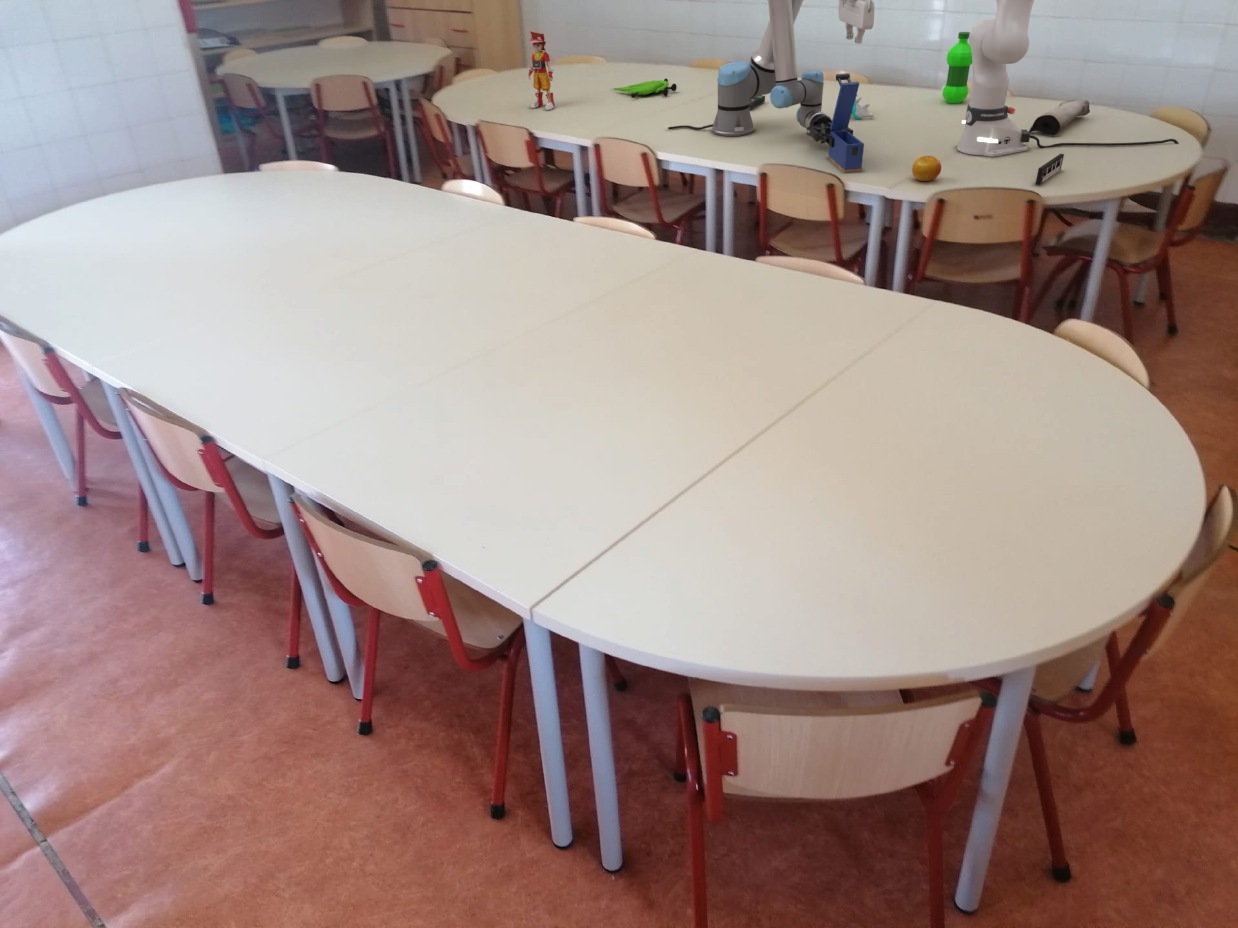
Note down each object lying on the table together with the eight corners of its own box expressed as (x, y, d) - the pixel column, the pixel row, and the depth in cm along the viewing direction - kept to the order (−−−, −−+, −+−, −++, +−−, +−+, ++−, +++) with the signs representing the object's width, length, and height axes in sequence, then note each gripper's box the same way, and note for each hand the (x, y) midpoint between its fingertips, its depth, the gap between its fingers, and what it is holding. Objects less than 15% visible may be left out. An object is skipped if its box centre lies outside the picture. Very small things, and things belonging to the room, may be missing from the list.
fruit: (905, 171, 275) (922, 148, 272) (907, 173, 283) (923, 151, 280) (928, 186, 274) (945, 163, 271) (929, 188, 282) (946, 166, 279)
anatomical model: (836, 88, 347) (861, 81, 346) (838, 115, 353) (863, 108, 352) (847, 98, 335) (873, 90, 334) (849, 125, 341) (875, 118, 340)
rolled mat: (1057, 104, 331) (1081, 87, 323) (1070, 125, 332) (1095, 108, 324) (1024, 126, 314) (1049, 109, 306) (1039, 148, 314) (1064, 131, 306)
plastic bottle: (973, 101, 354) (984, 32, 339) (955, 106, 349) (966, 36, 335) (952, 97, 361) (962, 29, 346) (934, 102, 356) (944, 33, 342)
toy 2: (686, 85, 398) (631, 84, 414) (685, 72, 395) (629, 72, 411) (651, 104, 381) (596, 103, 397) (650, 92, 378) (594, 91, 394)
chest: (861, 171, 290) (864, 143, 285) (844, 172, 289) (846, 145, 284) (844, 156, 303) (846, 130, 298) (828, 158, 303) (830, 131, 298)
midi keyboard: (1039, 185, 269) (1043, 168, 266) (1035, 184, 270) (1038, 168, 267) (1060, 170, 279) (1064, 154, 277) (1056, 169, 280) (1060, 153, 277)
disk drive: (750, 111, 360) (765, 102, 370) (750, 104, 358) (765, 95, 368) (726, 109, 364) (742, 100, 375) (726, 102, 363) (742, 93, 373)
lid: (859, 84, 283) (852, 67, 287) (842, 85, 283) (835, 68, 287) (847, 129, 298) (840, 112, 302) (830, 131, 297) (824, 114, 302)
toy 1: (525, 109, 381) (517, 32, 364) (534, 104, 388) (527, 28, 371) (550, 110, 377) (543, 32, 360) (559, 105, 384) (553, 28, 367)
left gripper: (843, 133, 318) (868, 150, 299) (792, 138, 316) (814, 156, 297) (845, 111, 314) (871, 127, 295) (794, 115, 312) (816, 133, 293)
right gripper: (882, -5, 261) (876, 46, 269) (856, -14, 277) (851, 35, 285) (861, -4, 260) (856, 48, 268) (836, -12, 277) (832, 36, 285)
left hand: (842, 142), depth 296 cm, fingers closed on chest, 6 cm apart
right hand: (853, 41), depth 277 cm, fingers open, 6 cm apart
